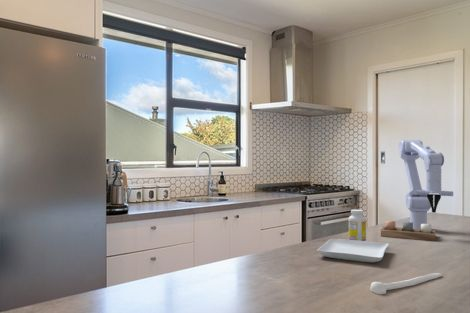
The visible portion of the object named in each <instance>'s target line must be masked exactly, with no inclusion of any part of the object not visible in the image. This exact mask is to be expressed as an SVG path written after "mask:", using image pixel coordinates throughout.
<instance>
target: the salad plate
mask: <svg viewBox="0 0 470 313" xmlns="http://www.w3.org/2000/svg"><path fill="white" fill-rule="evenodd" d="M389 245H390V243H387V242H378V241H368V240H366V241H358V240H349V239H343V238H330V239H328V240H327V241H326V242H325V243H324V244H322V245H321V246H320V247H318V248H317V252H318V254H319V255H320V256H323V257H326V258H329V259H336V260H344V261H353V262H362V263H371V264H372V263H377V262H380V261H382V260H383V258H384V255H385V252H386V250H387V249H388V248H389Z"/></svg>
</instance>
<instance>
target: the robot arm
mask: <svg viewBox="0 0 470 313" xmlns="http://www.w3.org/2000/svg"><path fill="white" fill-rule="evenodd" d="M398 151H399V156H400V159H402V160H403V162H404V166H405V171H406V175H407V180H408V184H409V185H408V186H409V190H410V191H409V192H407V194H405V206H406V208H407V209H408V210H409V222H413V229H421V224H428V212H429V210H430V209H431V213H437V207H438V205H439V203H440V201H441V198H442V197H454V191H453V190H452V191H448V190H442V167H443V165H444V164H445V157H444V153H442V152H436V151H435V150H433V149H432V148H430V146H424V144H423V140H422V139H417V140H415V139H409V140H407V139H406V140H404V139H401V140H400V141H399V143H398ZM418 159H421V160H422V161H423V164H424V169H425V171H426V172H425V173H426V174H425V175H426V180H425V181H426V183H425V184H426V185H425V186H426V189H423V188H422V185H421V184H422V183H421V181H420V176H419V172H418V167H417V162H416V160H418Z"/></svg>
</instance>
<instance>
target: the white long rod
mask: <svg viewBox="0 0 470 313" xmlns="http://www.w3.org/2000/svg"><path fill="white" fill-rule="evenodd" d="M442 276H443V274H442V273H441V272H440V273H439V272H434V273H428V274H425V275H421V276H417V277H413V278H410V279H404V280H400V281H395V282H394V281H393V282H385V283H383V282H382V281H373V282H371V284H370V286H369V287H370V292H372V293H373V294H377V295H384V294H386V293H387V291H392V290H396V289H397V290H398V289H402V288H405V287H406V288H408V287H411V286H416V285H418V284H421V283H425V282H427V281H431V280H436V279H438V278H440V277H441V278H442Z"/></svg>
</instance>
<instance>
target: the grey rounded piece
mask: <svg viewBox="0 0 470 313" xmlns="http://www.w3.org/2000/svg"><path fill="white" fill-rule="evenodd" d="M402 228H403V231H413V222H410V221H402Z"/></svg>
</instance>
